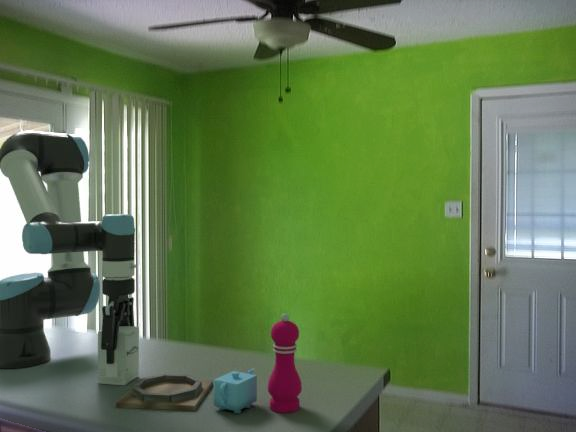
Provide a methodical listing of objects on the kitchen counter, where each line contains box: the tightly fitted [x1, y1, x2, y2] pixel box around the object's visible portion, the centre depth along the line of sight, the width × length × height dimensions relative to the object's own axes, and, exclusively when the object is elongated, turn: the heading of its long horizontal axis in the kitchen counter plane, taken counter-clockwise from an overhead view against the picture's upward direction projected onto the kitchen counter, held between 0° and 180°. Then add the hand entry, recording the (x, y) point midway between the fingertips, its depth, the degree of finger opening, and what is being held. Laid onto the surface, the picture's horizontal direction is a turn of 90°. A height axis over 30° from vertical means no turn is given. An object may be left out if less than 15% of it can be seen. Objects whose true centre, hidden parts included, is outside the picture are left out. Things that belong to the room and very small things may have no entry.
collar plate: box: [115, 373, 214, 411], centre depth 125 cm, size 17×17×2 cm
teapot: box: [213, 367, 258, 414], centre depth 118 cm, size 12×6×8 cm, turn 149°
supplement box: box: [97, 325, 140, 386], centre depth 135 cm, size 7×7×13 cm
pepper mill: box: [267, 313, 303, 414], centre depth 117 cm, size 7×7×20 cm
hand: (118, 371), depth 135 cm, fingers closed on supplement box, 8 cm apart
